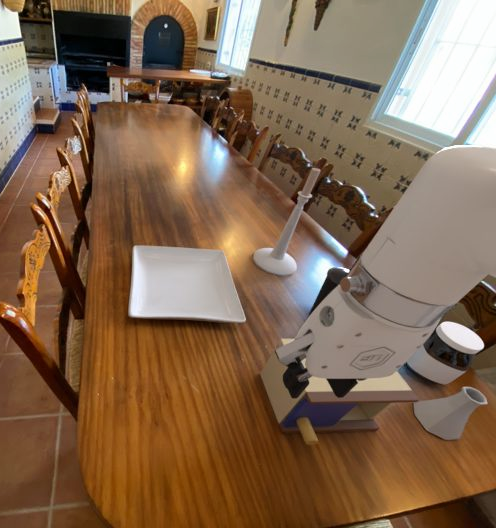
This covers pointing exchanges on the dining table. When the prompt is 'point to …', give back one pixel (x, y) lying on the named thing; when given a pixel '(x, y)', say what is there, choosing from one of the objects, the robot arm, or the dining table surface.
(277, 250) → the candlestick
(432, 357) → the spread jar
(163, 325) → the dining table surface
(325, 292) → the drinking cup
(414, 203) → the robot arm
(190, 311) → the square plate
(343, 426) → the box with blue drawer
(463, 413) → the flask
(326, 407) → the sliding door
